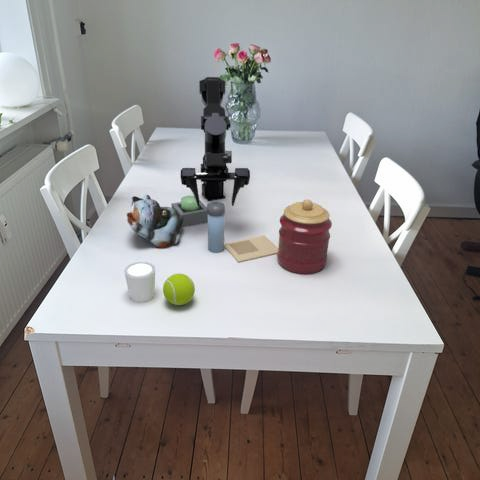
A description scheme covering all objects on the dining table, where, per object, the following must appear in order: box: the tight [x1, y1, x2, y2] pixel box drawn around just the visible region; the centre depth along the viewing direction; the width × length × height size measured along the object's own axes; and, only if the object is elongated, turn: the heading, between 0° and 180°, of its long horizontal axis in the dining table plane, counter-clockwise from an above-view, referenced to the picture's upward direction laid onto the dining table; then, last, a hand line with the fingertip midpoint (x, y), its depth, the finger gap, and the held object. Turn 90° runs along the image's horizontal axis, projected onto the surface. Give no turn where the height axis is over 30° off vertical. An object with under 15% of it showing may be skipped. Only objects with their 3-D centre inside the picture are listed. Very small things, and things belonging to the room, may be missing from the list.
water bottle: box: [206, 201, 226, 254], centre depth 123 cm, size 5×5×13 cm
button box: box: [170, 199, 208, 228], centre depth 141 cm, size 9×9×4 cm
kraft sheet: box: [224, 234, 279, 264], centre depth 127 cm, size 13×10×1 cm
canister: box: [276, 198, 333, 275], centre depth 117 cm, size 13×13×18 cm
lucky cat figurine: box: [126, 194, 184, 249], centre depth 128 cm, size 15×12×14 cm
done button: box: [180, 195, 199, 213], centre depth 140 cm, size 5×5×4 cm
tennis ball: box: [162, 273, 196, 306], centre depth 103 cm, size 7×7×7 cm
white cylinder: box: [123, 261, 156, 303], centre depth 105 cm, size 7×7×7 cm
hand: (215, 205), depth 125 cm, fingers open, 9 cm apart
